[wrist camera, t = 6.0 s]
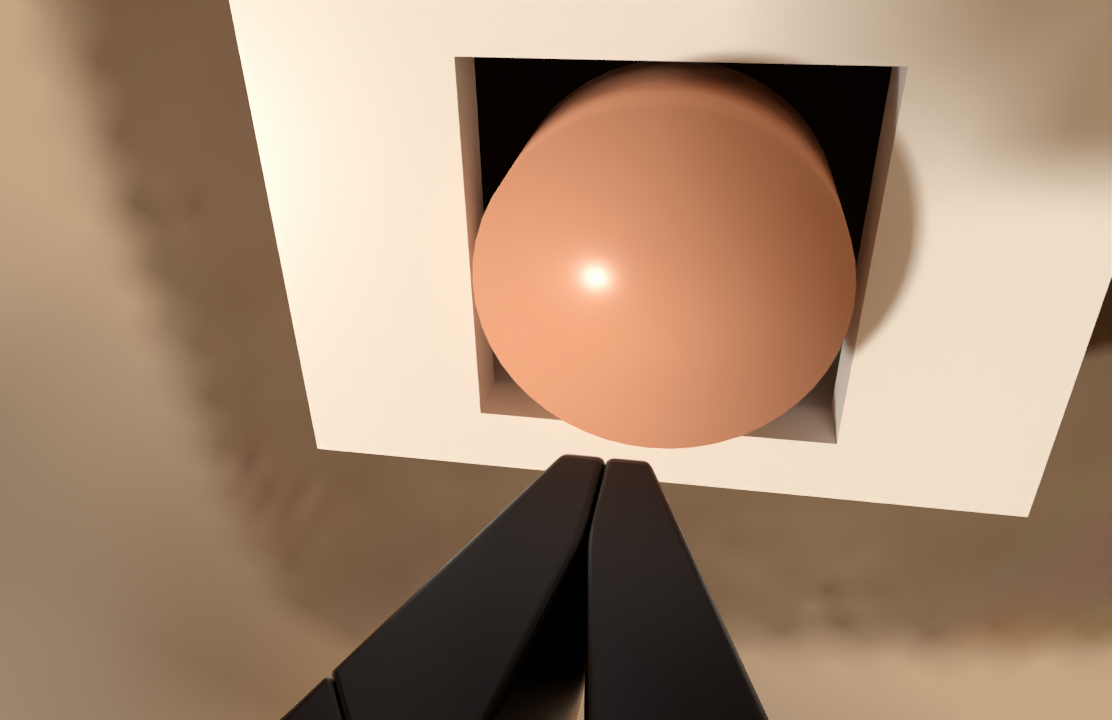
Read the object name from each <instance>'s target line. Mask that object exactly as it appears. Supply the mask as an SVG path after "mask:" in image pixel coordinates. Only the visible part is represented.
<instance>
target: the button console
mask: <svg viewBox="0 0 1112 720" xmlns="http://www.w3.org/2000/svg"><path fill="white" fill-rule="evenodd" d="M229 3H230V8H231V13H232V18H233V23H234V28H235V33H236V38H237V43H238V48H239V53H240V58H241V63H242V69H243V74H244V79H245V84H246V89H247V94H248V99H249V104H250V109H251V114H252V119H253V124H254V129H255V134H256V139H257V144H258V150H259V155H260V160H261V165H262V170H263V175H264V180H265V185H266V190H267V195H268V200H269V205H270V210H271V215H272V220H273V226H274V231H275V236H276V241H277V246H278V251H279V256H280V261H281V266H282V271H283V276H284V281H285V286H286V291H287V296H288V301H289V307H290V312H291V317H292V322H293V327H294V332H295V337H296V342H297V347H298V352H299V357H300V362H301V367H302V372H303V377H304V382H305V388H306V393H307V398H308V403H309V408H310V413H311V418H312V423H313V428H314V433H315V438H316V443H317V448H318V449H326V450H337V451H347V452H357V453H368V454H378V455H389V456H399V457H409V458H420V459H430V460H440V461H451V462H461V463H472V464H482V465H492V466H503V467H513V468H523V469H534V470H544V471H545V470H546V469H547V468H548V467H549V466H550V465H552V464H553V463H554V462H555V461H556V460H557V459H558V458H559V457H560V456H563V455H565V454H573V455H584V456H595V457H600V458H602V459H603V460H604V462H605V464H606V462H607V461H608V460H610V459H612V458H617V459H628V460H639V461H645V462H648V463H649V464H650V465H651V467H652V468H653V471H654V473H655V475H656V477H657V479H658V481H659V482H669V483H679V484H689V485H700V486H710V487H721V488H731V489H741V490H752V491H762V492H772V493H783V494H793V495H804V496H814V497H824V498H835V499H845V500H855V501H866V502H876V503H887V504H897V505H907V506H918V507H928V508H938V509H949V510H959V511H969V512H980V513H990V514H1001V515H1011V516H1021V517H1028V515H1029V512H1030V509H1031V506H1032V503H1033V501H1034V498H1035V495H1036V492H1037V489H1038V486H1039V483H1040V481H1041V478H1042V475H1043V472H1044V469H1045V466H1046V463H1047V461H1048V458H1049V455H1050V452H1051V449H1052V446H1053V443H1054V441H1055V438H1056V435H1057V432H1058V429H1059V426H1060V423H1061V421H1062V418H1063V415H1064V412H1065V409H1066V406H1067V403H1068V401H1069V398H1070V395H1071V392H1072V389H1073V386H1074V383H1075V380H1076V378H1077V375H1078V372H1079V369H1080V366H1081V363H1082V360H1083V358H1084V355H1085V352H1086V349H1087V346H1088V343H1089V340H1090V338H1091V335H1092V332H1093V329H1094V326H1095V323H1096V320H1097V318H1098V315H1099V312H1100V309H1101V306H1102V303H1103V300H1104V298H1105V295H1106V292H1107V289H1108V286H1109V283H1110V280H1111V278H1112V0H229ZM474 57H496V58H541V59H586V60H631V61H676V62H721V63H766V64H811V65H857V66H892V71H891V77H890V82H889V88H888V93H887V99H886V104H885V110H884V116H883V121H882V127H881V132H880V138H879V143H878V149H877V154H876V160H875V166H874V171H873V177H872V182H871V188H870V193H869V199H868V205H867V210H866V216H865V221H864V227H863V232H862V238H861V244H860V249H859V255H858V260H857V266H856V293H855V302H854V310H853V313H852V317H851V321H850V325H849V329H848V332H847V334H846V336H845V339H844V341H843V344H842V346H841V348H840V351H839V352H838V354H837V356H836V357H835V359H834V361H833V362H832V364H831V366H830V367H829V369H828V371H827V372H826V373H825V374H824V376H823V377H822V378H821V379H820V381H819V382H818V383H817V384H816V386H815V387H814V388H813V389H812V390H811V391H810V392H809V393H808V394H807V395H806V396H805V397H804V398H802V399H801V400H800V401H799V402H798V403H797V404H796V405H795V406H793V407H792V408H790V409H789V410H788V411H786V412H785V413H784V414H782V415H781V416H780V417H778V418H776V419H775V420H773V421H771V422H769V423H767V424H766V425H764V426H762V427H760V428H758V429H756V430H754V431H751V432H749V433H746V434H744V435H742V436H739V437H736V438H733V439H729V440H726V441H723V442H719V443H715V444H710V445H704V446H698V447H690V448H675V449H666V448H647V447H640V446H633V445H626V444H622V443H618V442H614V441H610V440H607V439H603V438H601V437H598V436H595V435H593V434H590V433H587V432H584V431H582V430H580V429H578V428H576V427H574V426H572V425H570V424H568V423H566V422H564V421H563V420H561V419H560V418H558V417H557V416H555V415H553V414H552V413H550V412H549V411H547V410H546V409H544V408H543V407H542V406H541V405H539V404H538V403H537V402H536V401H535V400H533V399H532V398H531V397H530V396H529V395H528V394H527V393H526V392H525V391H524V390H523V389H522V388H521V387H520V386H519V385H518V384H517V383H516V382H515V381H514V380H513V379H512V377H511V376H510V375H509V374H508V372H507V371H506V370H505V368H504V367H503V366H502V365H501V363H500V361H499V360H498V358H497V356H496V355H495V353H494V351H493V350H492V348H491V346H490V344H489V342H488V340H487V337H486V335H485V333H484V330H483V328H482V326H481V322H480V319H479V315H478V312H477V308H476V304H475V297H474V290H473V255H474V248H475V241H476V237H477V234H478V230H479V227H480V224H481V220H482V217H483V215H484V208H483V192H482V176H481V160H480V144H479V128H478V112H477V96H476V80H475V64H474Z"/></svg>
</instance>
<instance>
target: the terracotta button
mask: <svg viewBox="0 0 1112 720" xmlns="http://www.w3.org/2000/svg"><path fill="white" fill-rule="evenodd" d="M473 290H474V297H475V304H476V308H477V312H478V315H479V319H480V322H481V326H482V328H483V330H484V333H485V335H486V337H487V340H488V342H489V344H490V346H491V348H492V350H493V351H494V353H495V355H496V356H497V358H498V360H499V361H500V363H501V365H502V366H503V367H504V368H505V370H506V371H507V372H508V374H509V375H510V376H511V377H512V379H513V380H514V381H515V382H516V383H517V384H518V385H519V386H520V387H521V388H522V389H523V390H524V391H525V392H526V393H527V394H528V395H529V396H530V397H531V398H532V399H533V400H535V401H536V402H537V403H538V404H539V405H541V406H542V407H543V408H544V409H546V410H547V411H549V412H550V413H552V414H553V415H555V416H557V417H558V418H560V419H561V420H563V421H564V422H566V423H568V424H570V425H572V426H574V427H576V428H578V429H580V430H582V431H584V432H587V433H590V434H593V435H595V436H598V437H601V438H603V439H607V440H610V441H614V442H618V443H622V444H626V445H633V446H640V447H647V448H666V449H675V448H690V447H698V446H704V445H710V444H715V443H719V442H723V441H726V440H729V439H733V438H736V437H739V436H742V435H744V434H746V433H749V432H751V431H754V430H756V429H758V428H760V427H762V426H764V425H766V424H767V423H769V422H771V421H773V420H775V419H776V418H778V417H780V416H781V415H782V414H784V413H785V412H786V411H788V410H789V409H790V408H792V407H793V406H795V405H796V404H797V403H798V402H799V401H800V400H801V399H802V398H804V397H805V396H806V395H807V394H808V393H809V392H810V391H811V390H812V389H813V388H814V387H815V386H816V384H817V383H818V382H819V381H820V379H821V378H822V377H823V376H824V374H825V373H826V372H827V371H828V369H829V367H830V366H831V364H832V362H833V361H834V359H835V357H836V356H837V354H838V352H839V351H840V348H841V346H842V344H843V341H844V339H845V336H846V334H847V332H848V329H849V325H850V321H851V317H852V313H853V310H854V302H855V293H856V267H855V258H854V253H853V248H852V243H851V238H850V234H849V231H848V228H847V224H846V221H845V217H844V214H843V210H842V207H841V203H840V200H839V196H838V193H837V189H836V186H835V183H834V179H833V176H832V172H831V169H830V167H829V164H828V161H827V158H826V156H825V153H824V151H823V149H822V147H821V145H820V143H819V142H818V140H817V138H816V136H815V134H814V133H813V131H812V130H811V129H810V127H809V126H808V125H807V123H806V122H805V121H804V119H803V118H802V117H801V115H800V114H799V113H798V112H797V111H796V110H795V109H794V108H793V107H792V106H791V105H790V104H789V103H788V102H787V101H786V100H785V99H784V98H782V97H781V96H780V95H778V94H777V93H776V92H774V91H773V90H772V89H770V88H769V87H767V86H766V85H764V84H763V83H761V82H759V81H757V80H755V79H753V78H752V77H750V76H748V75H746V74H744V73H741V72H738V71H736V70H733V69H730V68H728V67H725V66H722V65H717V64H713V63H709V62H676V61H644V62H638V63H633V64H629V65H626V66H623V67H620V68H617V69H614V70H611V71H608V72H606V73H604V74H602V75H600V76H598V77H596V78H593V79H591V80H589V81H588V82H586V83H585V84H583V85H582V86H580V87H579V88H577V89H576V90H574V91H572V92H571V93H570V94H569V95H567V96H566V97H565V98H564V99H563V100H562V101H561V102H559V103H558V104H557V105H556V106H555V107H554V108H553V109H552V110H551V111H550V112H549V114H548V115H547V116H546V117H545V118H544V119H543V120H542V122H541V123H540V124H539V126H538V127H537V129H536V130H535V132H534V133H533V135H532V136H531V138H530V139H529V141H528V142H527V144H526V146H525V147H524V149H523V150H522V152H521V153H520V155H519V156H518V158H517V159H516V161H515V162H514V164H513V165H512V167H511V169H510V170H509V172H508V173H507V175H506V176H505V178H504V179H503V181H502V182H501V184H500V185H499V187H498V189H497V190H496V192H495V193H494V195H493V196H492V198H491V200H490V202H489V204H488V207H487V209H486V211H485V213H484V215H483V217H482V220H481V224H480V227H479V230H478V234H477V237H476V241H475V248H474V255H473Z"/></svg>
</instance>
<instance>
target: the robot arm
mask: <svg viewBox="0 0 1112 720" xmlns="http://www.w3.org/2000/svg"><path fill="white" fill-rule="evenodd" d="M332 679H333V680H332ZM332 679H331V678H325V679H323V680H322V681H321V682H320V683H319V684H318V685H317V686H316V687H315V688H314V689H313V690H312V691H310V692H309V693H308V694H307V695H306V696H305V697H304V698H303V699H302V700H301V701H300V702H299V703H298V704H297V705H296V706H295V707H294V708H293V709H291V710H290V711H289V712H288V713H287V714H286V715H285V716H284V717H282V718H281V719H280V720H576V719H577V715H578V711H579V707H580V702H581V698H582V693H583V689H584V684H585V699H584V700H585V701H584V720H768V717H767V715H766V713H765V711H764V709H763V707H762V705H761V702H760V700H759V698H758V696H757V694H756V691H755V689H754V687H753V685H752V683H751V681H750V678H749V676H748V674H747V672H746V670H745V668H744V665H743V663H742V661H741V659H740V657H739V655H738V652H737V650H736V648H735V646H734V644H733V642H732V639H731V637H730V635H729V633H728V631H727V629H726V626H725V624H724V622H723V620H722V618H721V616H720V613H719V611H718V609H717V607H716V605H715V603H714V600H713V598H712V596H711V594H710V592H709V590H708V587H707V585H706V583H705V581H704V579H703V577H702V574H701V572H700V570H699V568H698V566H697V564H696V561H695V559H694V557H693V555H692V553H691V551H690V548H689V546H688V544H687V542H686V540H685V538H684V536H683V533H682V531H681V529H680V527H679V525H678V523H677V520H676V518H675V516H674V514H673V512H672V510H671V507H670V505H669V503H668V501H667V499H666V497H665V494H664V492H663V490H662V488H661V486H660V484H659V481H658V479H657V477H656V475H655V473H654V471H653V468H652V467H651V465H650V464H649V463H648V462H645V461H639V460H628V459H617V458H612V459H610V460H608V461H607V462H606V464H605V462H604V460H603V459H602V458H600V457H595V456H584V455H573V454H565V455H563V456H560V457H559V458H558V459H557V460H556V461H555V462H554V463H553V464H552V465H550V466H549V467H548V468H547V469H546V470H545V471H544V472H543V473H542V474H541V475H540V476H539V477H538V478H537V479H536V480H535V481H534V482H532V483H531V484H530V485H529V486H528V487H527V488H526V489H525V490H524V491H523V492H522V493H521V494H520V495H519V496H518V497H517V498H516V499H514V500H513V501H512V502H511V503H510V504H509V505H508V506H507V507H506V508H505V509H504V510H503V511H502V512H501V513H500V514H499V515H498V516H496V517H495V518H494V519H493V520H492V521H491V522H490V523H489V524H488V525H487V526H486V527H485V528H484V529H483V530H482V531H481V532H479V533H478V534H477V535H476V536H475V537H474V538H473V539H472V540H471V541H470V542H469V543H468V544H467V545H466V546H465V547H464V548H463V549H461V550H460V551H459V552H458V553H457V554H456V555H455V556H454V557H453V558H452V559H451V560H450V561H449V562H448V563H447V564H446V565H445V566H443V567H442V568H441V569H440V570H439V571H438V572H437V573H436V574H435V575H434V576H433V577H432V578H431V579H430V580H429V581H428V582H427V583H425V584H424V585H423V586H422V587H421V588H420V589H419V590H418V591H417V592H416V593H415V594H414V595H413V596H412V597H411V598H410V599H408V600H407V601H406V602H405V603H404V604H403V605H402V606H401V607H400V608H399V609H398V610H397V611H396V612H395V613H394V614H393V615H392V616H390V617H389V618H388V619H387V620H386V621H385V622H384V623H383V624H382V625H381V626H380V627H379V628H378V629H377V630H376V631H375V632H374V633H372V634H371V635H370V636H369V637H368V638H367V639H366V640H365V641H364V642H363V643H362V644H361V645H360V646H359V647H358V648H357V649H356V650H354V651H353V652H352V653H351V654H350V655H349V656H348V657H347V658H346V659H345V660H344V661H343V662H342V663H341V664H340V665H339V666H338V667H336V668H335V669H334V670H333V672H332Z"/></svg>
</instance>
